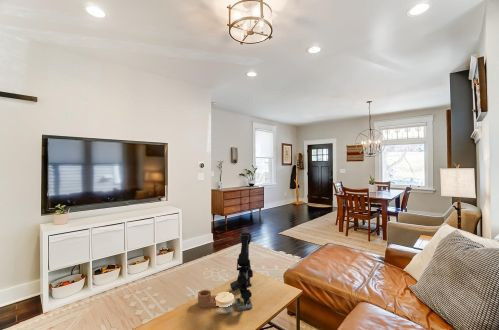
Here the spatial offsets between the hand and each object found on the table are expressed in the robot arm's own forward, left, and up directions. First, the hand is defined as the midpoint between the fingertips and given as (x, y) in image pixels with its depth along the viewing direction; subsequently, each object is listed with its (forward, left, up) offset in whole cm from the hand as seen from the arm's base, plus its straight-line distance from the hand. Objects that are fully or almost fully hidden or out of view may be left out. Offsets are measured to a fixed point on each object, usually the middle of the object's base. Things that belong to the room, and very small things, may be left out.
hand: (243, 301), depth 148 cm
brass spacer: (0, 0, -3) cm, 3 cm away
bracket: (-8, -20, -3) cm, 21 cm away
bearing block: (0, 0, -3) cm, 3 cm away
